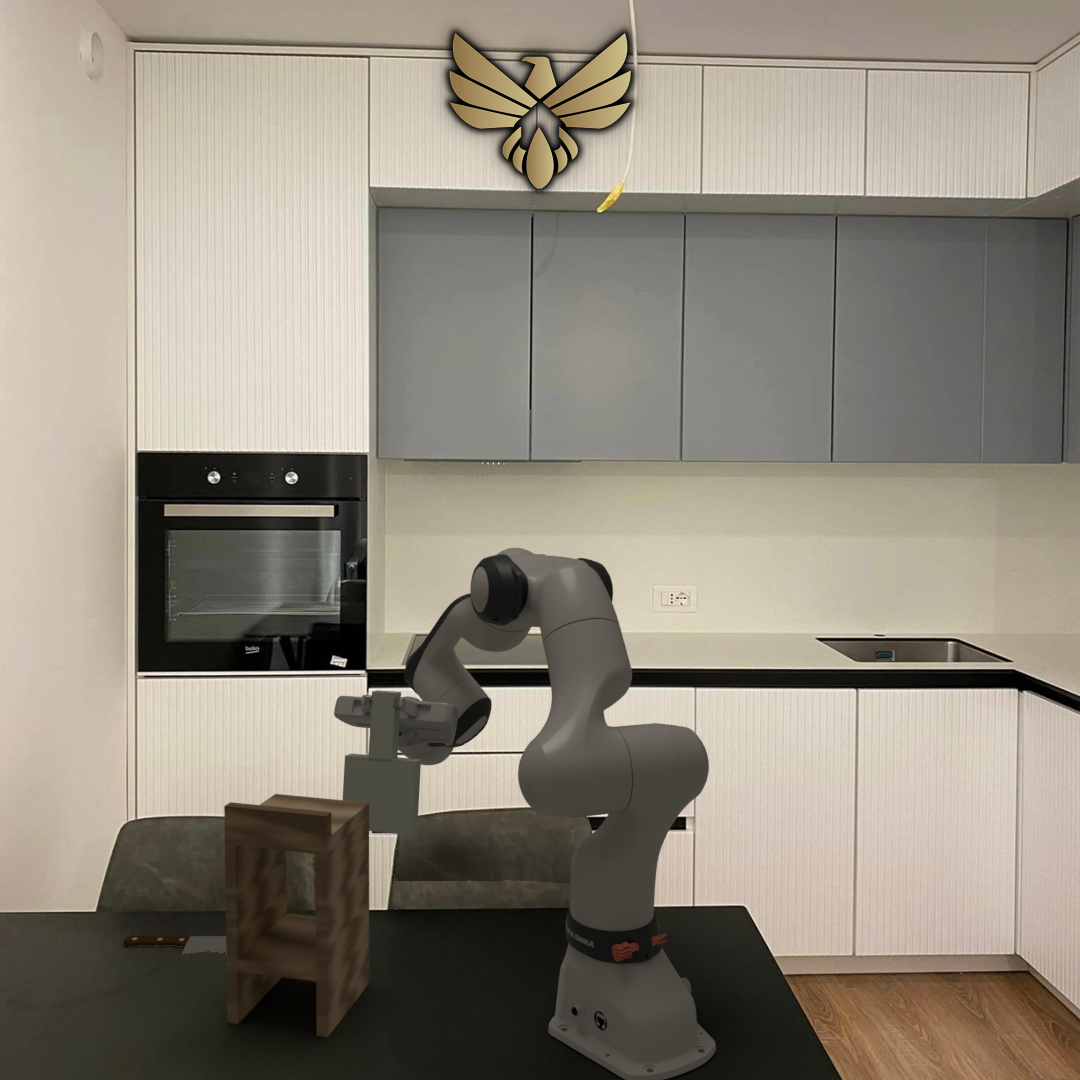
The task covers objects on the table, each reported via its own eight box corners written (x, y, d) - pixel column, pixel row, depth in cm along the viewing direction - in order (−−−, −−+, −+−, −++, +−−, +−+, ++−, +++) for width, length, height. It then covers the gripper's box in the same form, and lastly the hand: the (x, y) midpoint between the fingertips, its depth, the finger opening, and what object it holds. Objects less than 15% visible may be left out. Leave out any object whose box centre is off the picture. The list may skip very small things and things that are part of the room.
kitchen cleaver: (106, 963, 153) (131, 928, 163) (106, 970, 153) (132, 934, 163) (276, 966, 153) (291, 930, 163) (276, 972, 154) (291, 936, 163)
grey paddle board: (354, 688, 174) (348, 689, 172) (424, 693, 171) (419, 694, 169) (347, 825, 173) (340, 828, 171) (417, 832, 170) (411, 835, 168)
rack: (277, 970, 152) (275, 773, 150) (369, 983, 149) (369, 781, 146) (227, 1022, 139) (224, 806, 136) (327, 1037, 136) (326, 816, 133)
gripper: (354, 701, 185) (325, 677, 173) (467, 710, 181) (445, 685, 169) (347, 737, 183) (316, 715, 171) (461, 746, 178) (438, 724, 166)
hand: (381, 700), depth 170 cm, fingers closed on grey paddle board, 4 cm apart
